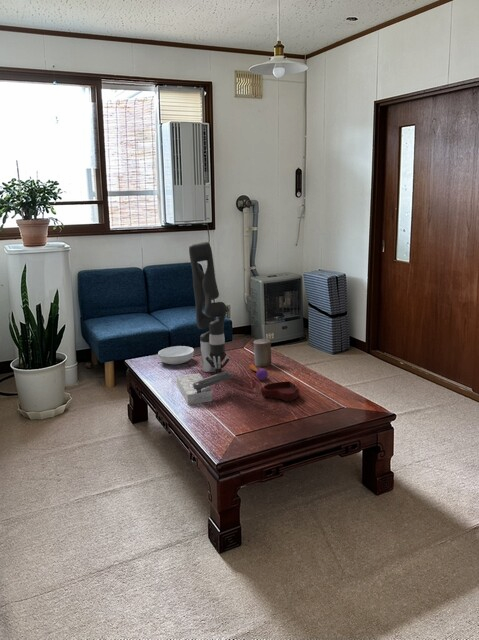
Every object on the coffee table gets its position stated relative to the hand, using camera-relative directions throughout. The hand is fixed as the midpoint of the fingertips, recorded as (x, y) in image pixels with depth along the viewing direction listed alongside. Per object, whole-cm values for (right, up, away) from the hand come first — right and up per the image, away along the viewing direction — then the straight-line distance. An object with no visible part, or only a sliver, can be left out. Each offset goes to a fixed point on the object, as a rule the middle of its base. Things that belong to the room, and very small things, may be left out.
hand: (218, 375), depth 279 cm
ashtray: (+31, -9, -10) cm, 34 cm away
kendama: (+20, -2, +20) cm, 29 cm away
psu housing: (-12, -9, -1) cm, 15 cm away
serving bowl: (-27, +3, +49) cm, 55 cm away
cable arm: (-3, -3, -8) cm, 9 cm away
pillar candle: (+24, +2, +37) cm, 44 cm away
